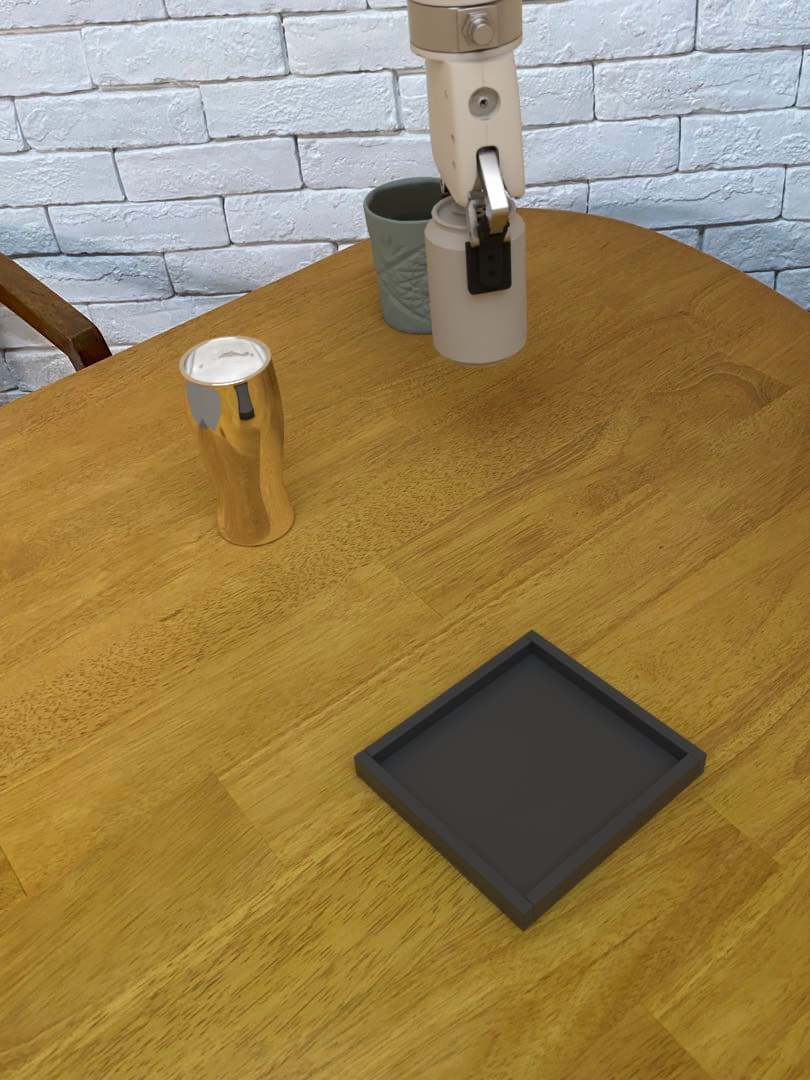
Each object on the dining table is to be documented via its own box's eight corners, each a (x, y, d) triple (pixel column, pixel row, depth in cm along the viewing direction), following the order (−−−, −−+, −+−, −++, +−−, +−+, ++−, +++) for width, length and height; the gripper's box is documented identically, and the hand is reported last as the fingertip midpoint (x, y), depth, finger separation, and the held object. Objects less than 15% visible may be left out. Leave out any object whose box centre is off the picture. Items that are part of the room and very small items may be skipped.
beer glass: (278, 557, 86) (249, 392, 76) (197, 542, 88) (158, 379, 78) (313, 501, 91) (289, 339, 81) (235, 488, 93) (203, 328, 83)
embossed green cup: (448, 345, 108) (444, 228, 100) (354, 327, 111) (343, 212, 103) (488, 296, 114) (487, 182, 107) (399, 280, 118) (391, 169, 110)
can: (512, 378, 87) (508, 232, 79) (420, 367, 89) (408, 224, 81) (538, 329, 92) (536, 188, 84) (450, 319, 94) (441, 181, 86)
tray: (531, 647, 78) (531, 628, 76) (704, 772, 69) (707, 753, 68) (355, 774, 70) (353, 756, 69) (523, 932, 62) (523, 914, 60)
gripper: (558, 51, 68) (557, 311, 80) (488, -21, 81) (495, 211, 93) (437, 70, 67) (453, 329, 79) (386, -6, 81) (406, 225, 92)
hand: (476, 264), depth 86 cm, fingers closed on can, 7 cm apart
